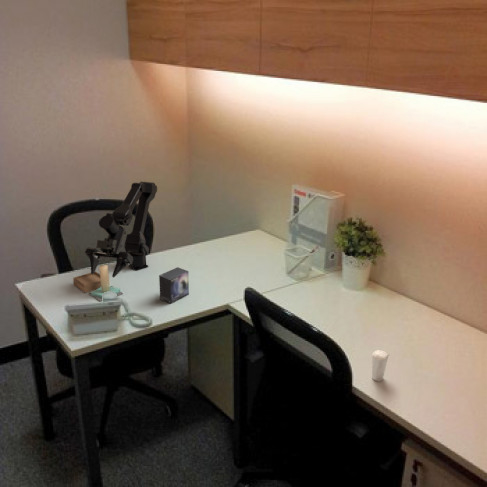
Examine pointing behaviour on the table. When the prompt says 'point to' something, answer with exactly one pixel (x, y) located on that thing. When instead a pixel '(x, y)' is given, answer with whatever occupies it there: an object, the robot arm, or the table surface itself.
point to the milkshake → (379, 365)
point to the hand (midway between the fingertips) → (102, 275)
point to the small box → (174, 285)
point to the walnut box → (88, 282)
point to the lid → (104, 283)
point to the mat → (101, 298)
